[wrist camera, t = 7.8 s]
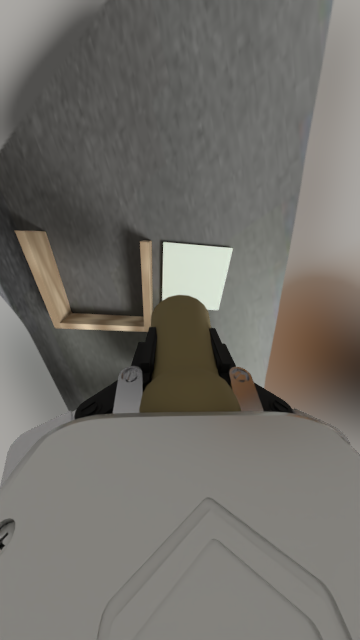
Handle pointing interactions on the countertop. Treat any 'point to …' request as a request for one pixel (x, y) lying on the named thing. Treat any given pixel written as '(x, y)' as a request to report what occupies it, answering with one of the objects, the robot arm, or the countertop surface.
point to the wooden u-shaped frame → (55, 296)
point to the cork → (185, 362)
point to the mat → (195, 272)
